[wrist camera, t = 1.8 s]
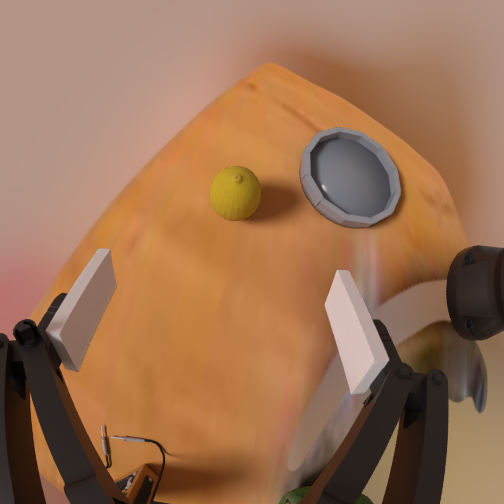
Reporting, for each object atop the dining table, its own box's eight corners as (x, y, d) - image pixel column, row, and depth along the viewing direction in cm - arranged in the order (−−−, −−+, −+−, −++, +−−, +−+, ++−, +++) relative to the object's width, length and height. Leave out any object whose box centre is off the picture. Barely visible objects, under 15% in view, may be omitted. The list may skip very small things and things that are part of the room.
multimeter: (126, 406, 28) (36, 482, 8) (181, 464, 27) (151, 576, 7) (61, 450, 25) (-21, 509, 5) (110, 501, 24) (57, 583, 4)
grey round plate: (384, 148, 39) (392, 140, 37) (395, 234, 36) (405, 228, 33) (298, 130, 38) (303, 120, 35) (298, 222, 35) (304, 215, 32)
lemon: (231, 178, 35) (234, 143, 27) (266, 206, 35) (277, 175, 27) (201, 209, 34) (195, 179, 26) (236, 239, 34) (240, 215, 26)
